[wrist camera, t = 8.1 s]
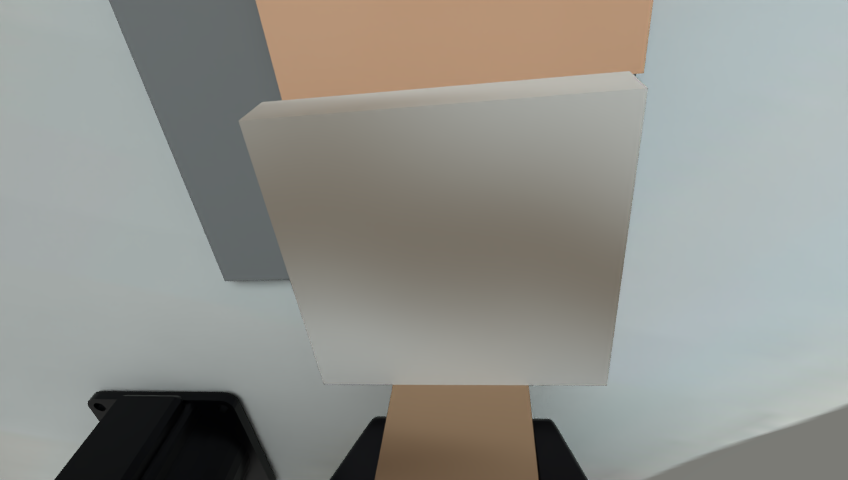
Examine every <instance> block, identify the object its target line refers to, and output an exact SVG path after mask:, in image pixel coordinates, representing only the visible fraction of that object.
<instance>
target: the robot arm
mask: <svg viewBox="0 0 848 480" xmlns="http://www.w3.org/2000/svg"><path fill="white" fill-rule="evenodd" d="M88 406H89V408H90V409H91V410H92V412H93V413H94V414H95V416H96V417H97V419H98V420H99V421H100V422H99V423H98V424H97V426H96V427H95V428H94V430H93V431H92V432H91V433H90V435H89V436H88V437H87V439H86V440H85V441H84V442H83V444H82V445H81V446H80V448H79V449H78V450H77V451H76V453H75V454H74V455H73V457H72V458H71V459H70V460H69V462H68V463H67V464H66V466H65V467H64V468H63V469H62V471H61V472H60V473H59V475H58V476H57V477H56V478H55V480H276V478H275V476H274V474H273V472H272V470H271V468H270V466H269V463H268V461H267V459H266V457H265V455H264V453H263V451H262V449H261V447H260V444H259V442H258V440H257V438H256V436H255V434H254V432H253V430H252V427H251V425H250V423H249V421H248V419H247V417H246V415H245V413H244V411H243V408H242V406H241V404H240V402H239V400H238V399H237V398H236V397H235V396H234V395H232V394H229V393H224V392H123V391H99V392H96V393H95V394H94V395H93V396H92V397H91V399H90V400H89V401H88ZM386 418H387V417H385V416H377V417H375V418H373V419H372V420H371V422H370V423H369V424H368V426H367V427H366V429H365V430H364V431H363V433H362V434H361V436H360V437H359V439H358V440H357V441H356V443H355V444H354V446H353V447H352V449H351V450H350V451H349V453H348V454H347V456H346V457H345V459H344V460H343V461H342V463H341V464H340V466H339V467H338V469H337V470H336V471H335V473H334V474H333V476H332V477H331V479H330V480H375V475H376V470H377V465H378V460H379V455H380V449H381V444H382V439H383V434H384V429H385V423H386ZM532 423H533V432H534V442H535V451H536V461H537V470H538V480H588V479H587V477H586V476H585V474H584V472H583V471H582V469H581V467H580V466H579V464H578V462H577V460H576V459H575V457H574V455H573V454H572V452H571V450H570V449H569V447H568V445H567V444H566V442H565V440H564V438H563V437H562V435H561V433H560V432H559V430H558V428H557V427H556V425H555V423H554V422H553V421H552V420H550V419H532Z"/></svg>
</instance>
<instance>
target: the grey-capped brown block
mask: <svg viewBox="0 0 848 480" xmlns="http://www.w3.org/2000/svg"><path fill="white" fill-rule="evenodd" d="M647 91H648V88H647V87H646V86H645V85H644V84H643V83H642V82H641V81H640V80H639V79H638V78H636V77H635V76H634V75H633V74H632V73H631V72H630V71H623V72H612V73H600V74H588V75H576V76H564V77H553V78H541V79H529V80H517V81H505V82H493V83H482V84H470V85H458V86H446V87H434V88H423V89H411V90H399V91H387V92H375V93H364V94H352V95H340V96H328V97H316V98H305V99H293V100H281V101H269V102H262V103H260V104H259V105H258V106H256V107H255V108H254V109H253V110H251V111H250V112H249V113H248V114H246V115H245V116H244V117H242V118H241V119H240V120H239V124H240V127H241V130H242V134H243V137H244V140H245V143H246V146H247V149H248V152H249V155H250V158H251V161H252V164H253V167H254V171H255V174H256V177H257V180H258V183H259V186H260V189H261V192H262V195H263V198H264V201H265V204H266V208H267V211H268V214H269V217H270V220H271V223H272V226H273V229H274V232H275V235H276V238H277V241H278V245H279V248H280V251H281V254H282V257H283V260H284V263H285V266H286V269H287V272H288V275H289V278H290V282H291V285H292V288H293V291H294V294H295V297H296V300H297V303H298V306H299V309H300V312H301V315H302V319H303V322H304V325H305V328H306V331H307V334H308V337H309V340H310V343H311V346H312V349H313V352H314V356H315V359H316V362H317V365H318V368H319V371H320V374H321V377H322V380H323V383H324V384H340V385H393V387H392V392H391V397H390V403H389V408H388V413H387V418H386V423H385V429H384V434H383V439H382V444H381V449H380V455H379V460H378V465H377V470H376V475H375V480H538V470H537V461H536V451H535V442H534V432H533V423H532V413H531V404H530V394H529V385H585V386H607V380H608V373H609V366H610V358H611V351H612V344H613V337H614V329H615V322H616V315H617V308H618V300H619V293H620V286H621V279H622V271H623V264H624V257H625V250H626V243H627V235H628V228H629V221H630V214H631V206H632V199H633V192H634V185H635V177H636V170H637V163H638V156H639V148H640V141H641V134H642V127H643V119H644V112H645V105H646V98H647Z"/></svg>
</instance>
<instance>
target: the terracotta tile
mask: <svg viewBox="0 0 848 480" xmlns="http://www.w3.org/2000/svg"><path fill="white" fill-rule="evenodd" d="M256 4H257V8H258V12H259V15H260V19H261V23H262V27H263V30H264V34H265V38H266V42H267V46H268V49H269V53H270V57H271V61H272V64H273V68H274V72H275V76H276V79H277V83H278V87H279V91H280V94H281V98H282V100H293V99H305V98H316V97H328V96H340V95H352V94H364V93H375V92H387V91H399V90H411V89H423V88H434V87H446V86H458V85H470V84H482V83H493V82H505V81H517V80H529V79H541V78H553V77H564V76H576V75H588V74H600V73H612V72H623V71H630V72H631V73H632V74H639V73H644V66H645V59H646V51H647V44H648V36H649V28H650V21H651V13H652V6H653V0H256Z"/></svg>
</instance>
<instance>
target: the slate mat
mask: <svg viewBox="0 0 848 480" xmlns="http://www.w3.org/2000/svg"><path fill="white" fill-rule="evenodd" d="M109 2H110V4H111V6H112V9H113V11H114V14H115V16H116V18H117V21H118V23H119V26H120V28H121V31H122V33H123V35H124V38H125V40H126V43H127V45H128V48H129V50H130V52H131V55H132V57H133V60H134V62H135V64H136V67H137V69H138V72H139V74H140V77H141V79H142V81H143V84H144V86H145V89H146V91H147V94H148V96H149V98H150V101H151V103H152V106H153V108H154V110H155V113H156V115H157V118H158V120H159V123H160V125H161V127H162V130H163V132H164V135H165V137H166V140H167V142H168V144H169V147H170V149H171V152H172V154H173V156H174V159H175V161H176V164H177V166H178V169H179V171H180V173H181V176H182V178H183V181H184V183H185V186H186V188H187V190H188V193H189V195H190V198H191V200H192V202H193V205H194V207H195V210H196V212H197V215H198V217H199V219H200V222H201V224H202V227H203V229H204V232H205V234H206V236H207V239H208V241H209V244H210V246H211V248H212V251H213V253H214V256H215V258H216V261H217V263H218V265H219V268H220V270H221V273H222V275H223V278H224V280H225V281H248V280H285V279H290V278H289V275H288V272H287V269H286V266H285V263H284V260H283V257H282V254H281V251H280V248H279V245H278V241H277V238H276V235H275V232H274V229H273V226H272V223H271V220H270V217H269V214H268V211H267V208H266V204H265V201H264V198H263V195H262V192H261V189H260V186H259V183H258V180H257V177H256V174H255V171H254V167H253V164H252V161H251V158H250V155H249V152H248V149H247V146H246V143H245V140H244V137H243V134H242V130H241V127H240V124H239V120H240V119H241V118H242V117H244V116H245V115H246V114H248V113H249V112H250V111H251V110H253V109H254V108H255V107H256V106H258V105H259V104H260V103H262V102H269V101H281V100H282V98H281V94H280V91H279V87H278V83H277V79H276V76H275V72H274V68H273V64H272V61H271V57H270V53H269V49H268V46H267V42H266V38H265V34H264V30H263V27H262V23H261V19H260V15H259V12H258V8H257V4H256V0H109ZM633 75H634V76H635V77H636V74H633Z"/></svg>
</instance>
